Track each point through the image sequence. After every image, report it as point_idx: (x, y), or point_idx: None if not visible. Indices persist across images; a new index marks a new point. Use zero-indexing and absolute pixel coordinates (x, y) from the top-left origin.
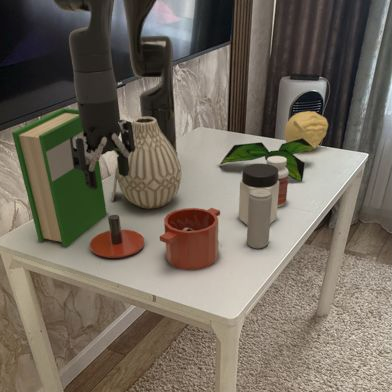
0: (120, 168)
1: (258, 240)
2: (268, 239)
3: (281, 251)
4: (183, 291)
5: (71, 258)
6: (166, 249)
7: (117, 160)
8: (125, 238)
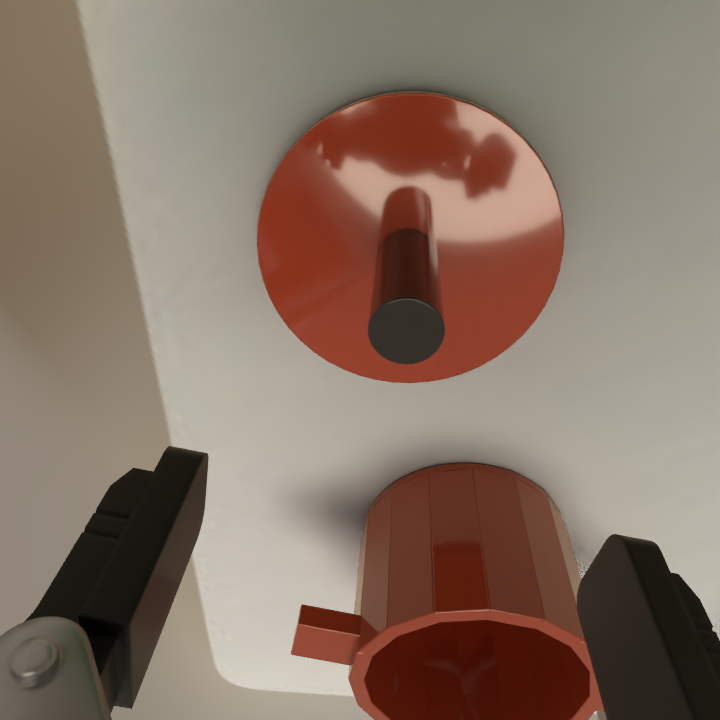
0: (627, 609)
1: None
2: None
3: None
4: (250, 580)
5: (172, 87)
6: (388, 522)
7: (676, 676)
8: (460, 277)
